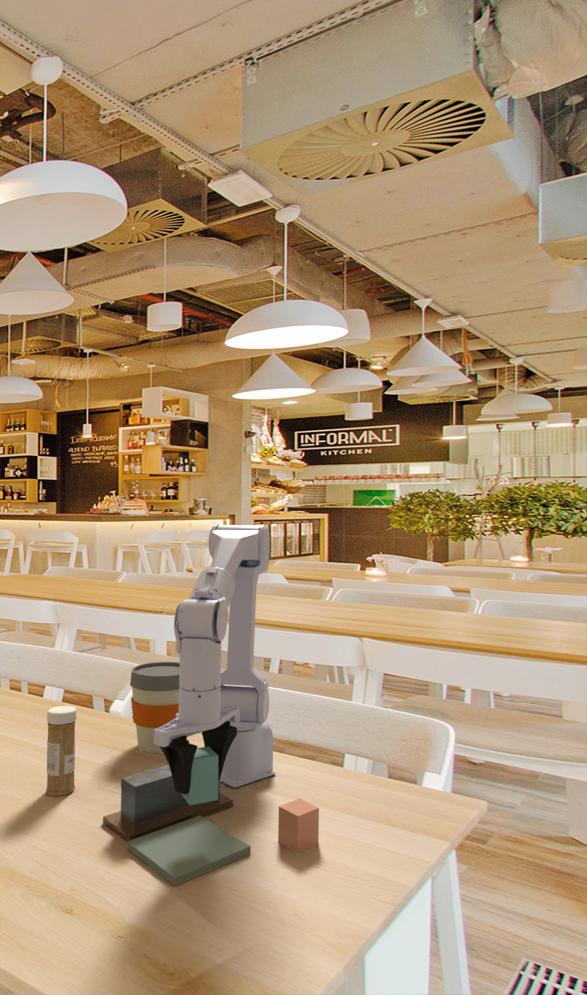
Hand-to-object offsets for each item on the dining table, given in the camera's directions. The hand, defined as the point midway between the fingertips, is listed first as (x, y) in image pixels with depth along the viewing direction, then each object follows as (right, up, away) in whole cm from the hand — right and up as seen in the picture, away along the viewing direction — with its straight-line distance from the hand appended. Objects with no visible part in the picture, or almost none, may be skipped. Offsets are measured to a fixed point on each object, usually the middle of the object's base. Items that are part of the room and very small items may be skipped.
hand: (198, 785), depth 92 cm
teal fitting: (0, -2, 0) cm, 2 cm away
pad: (-1, -8, -1) cm, 9 cm away
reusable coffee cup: (-13, -9, +40) cm, 43 cm away
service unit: (-6, -9, +9) cm, 14 cm away
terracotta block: (+14, -9, +2) cm, 17 cm away
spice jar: (-25, -9, +17) cm, 32 cm away
